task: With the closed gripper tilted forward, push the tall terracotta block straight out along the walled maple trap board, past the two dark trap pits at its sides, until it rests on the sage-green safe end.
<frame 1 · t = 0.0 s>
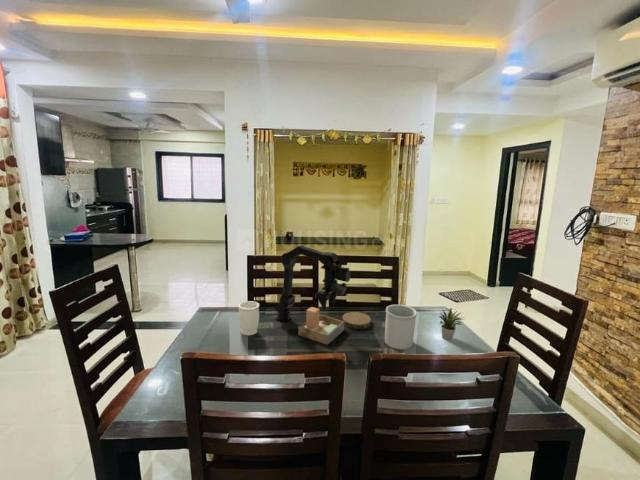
hand: (328, 306, 175), 15 cm above the table, tool pointing down, fingers open, 9 cm apart
jar: (249, 332, 176), on the table
house plant: (446, 339, 177), on the table
utensil holder: (398, 343, 171), on the table
terracotta block: (312, 325, 180), point 2 cm above the table, touching trap board
safe end: (329, 335, 176), on the table
wood slice: (356, 323, 192), on the table
trap board: (320, 332, 179), on the table
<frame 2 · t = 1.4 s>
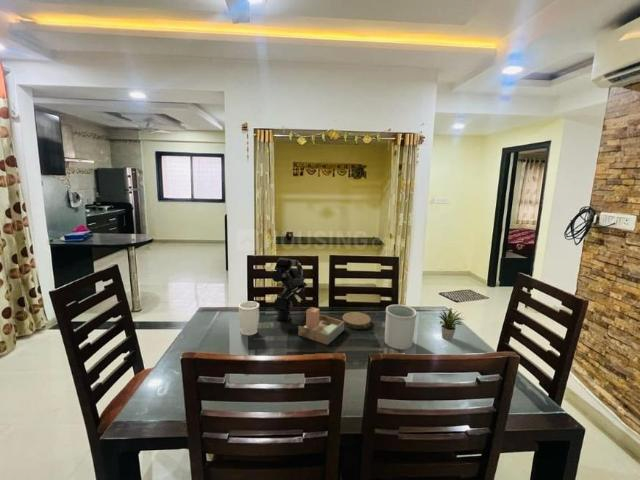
hand: (302, 303, 181), 13 cm above the table, tool tilted 45°, fingers open, 6 cm apart
nothing on the table moved.
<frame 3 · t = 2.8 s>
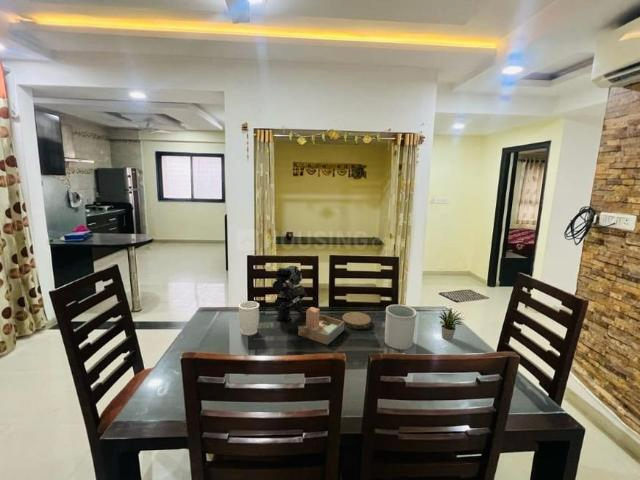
hand: (302, 313, 182), 8 cm above the table, tool tilted 45°, fingers closed
nothing on the table moved.
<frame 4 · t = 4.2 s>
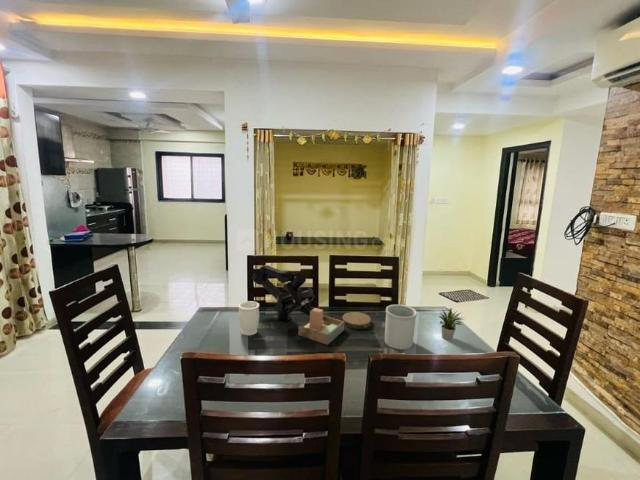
hand: (311, 316, 179), 8 cm above the table, tool tilted 45°, fingers closed, pressing on terracotta block
terracotta block: (315, 326, 179), point 3 cm above the table, touching gripper, trap board
everything else where it was.
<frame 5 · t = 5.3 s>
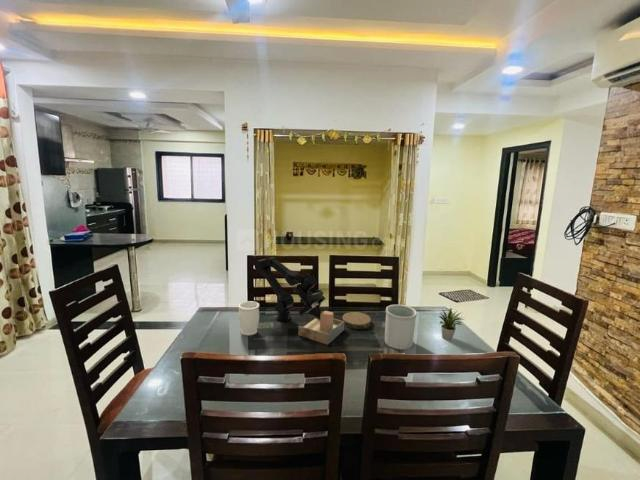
hand: (321, 318, 177), 8 cm above the table, tool tilted 45°, fingers closed
terracotta block: (326, 329, 176), point 3 cm above the table
everything else where it was.
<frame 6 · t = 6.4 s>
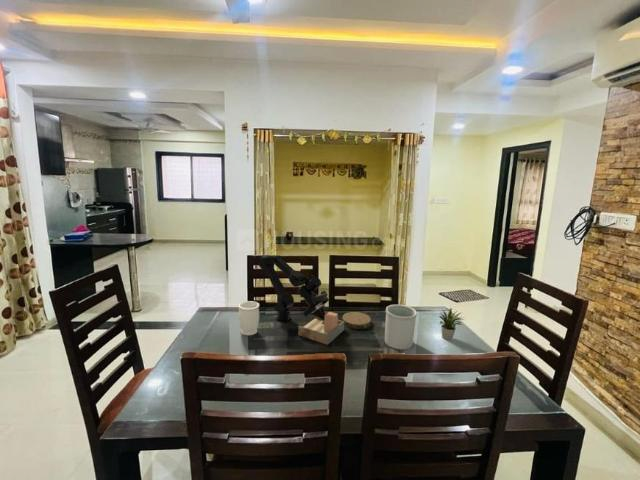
hand: (326, 320, 175), 8 cm above the table, tool tilted 45°, fingers closed, pressing on terracotta block
terracotta block: (330, 330, 175), point 2 cm above the table, touching gripper, safe end
everything else where it was.
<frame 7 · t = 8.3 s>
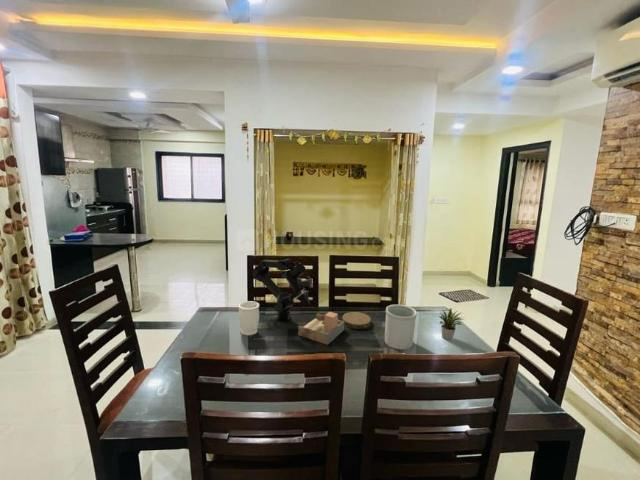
hand: (309, 305, 181), 13 cm above the table, tool tilted 40°, fingers closed
terracotta block: (330, 330, 175), point 2 cm above the table, touching safe end
everything else where it was.
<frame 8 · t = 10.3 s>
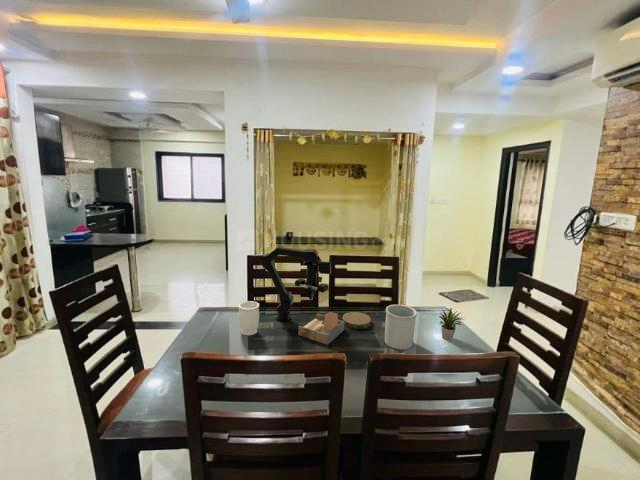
hand: (310, 299, 187), 13 cm above the table, tool pointing down, fingers closed
nothing on the table moved.
at the end: terracotta block 0.3 cm from the safe end (horizontally); terracotta block point 2.5 cm above the table; terracotta block tilted 0° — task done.
